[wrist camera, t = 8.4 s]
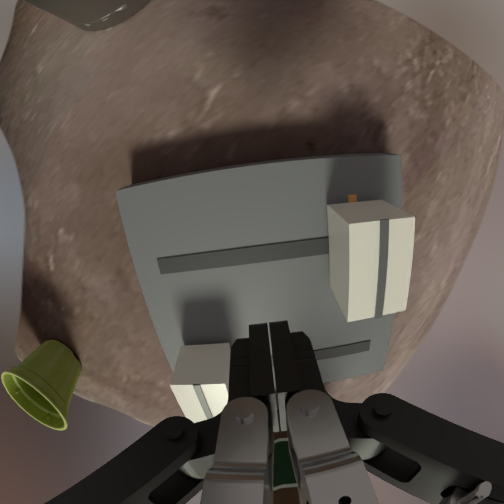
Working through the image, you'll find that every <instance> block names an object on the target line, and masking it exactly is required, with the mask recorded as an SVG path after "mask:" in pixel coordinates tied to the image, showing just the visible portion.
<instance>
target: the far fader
mask: <svg viewBox="0 0 504 504" xmlns="http://www.w3.org/2000/svg"><path fill="white" fill-rule="evenodd" d="M230 350H231V349H230V345H229V343H218V344H204V345H186V346H181V348H180V352H179V355H178V358H177V362H176V365H175V368H174V372H173V375H172V379H171V382H170V387H171V389H172V391H173V393H174V395H175V397H176V399H177V401H178V403H179V405H180V407H181V409H182V411H183V413H184V415H185V417H186V418H188V419H190V420H191V421H192V422H193V423H196V422H200V421H203V420H207V419H210V418H213V417H215V416H217V415H218V414H219V413H221V412H222V410H223V408H224V407H225V406H226V405H227V402H228V389H229V369H230Z"/></svg>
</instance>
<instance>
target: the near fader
mask: <svg viewBox="0 0 504 504" xmlns="http://www.w3.org/2000/svg"><path fill="white" fill-rule="evenodd" d="M327 216H328V235H329V264H330V288H331V290H332V292H333V294H334V296H335V298H336V300H337V302H338V304H339V306H340V308H341V310H342V312H343V314H344V316H345V318H346V320H347V322H351V321H357V320H362V319H367V318H372V317H374V318H375V319H377V318H382V315H387V314H391V313H396V312H400V311H405V310H406V305H407V299H408V292H409V284H410V276H411V267H412V257H413V245H414V229H415V217H414V216H412V215H411V214H409V213H407V212H405V211H403V210H401V209H399V208H397V207H395V206H393V205H391V204H389V203H387V202H385V201H383V200H373V201H361V202H350V203H340V204H330V205H327Z"/></svg>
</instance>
